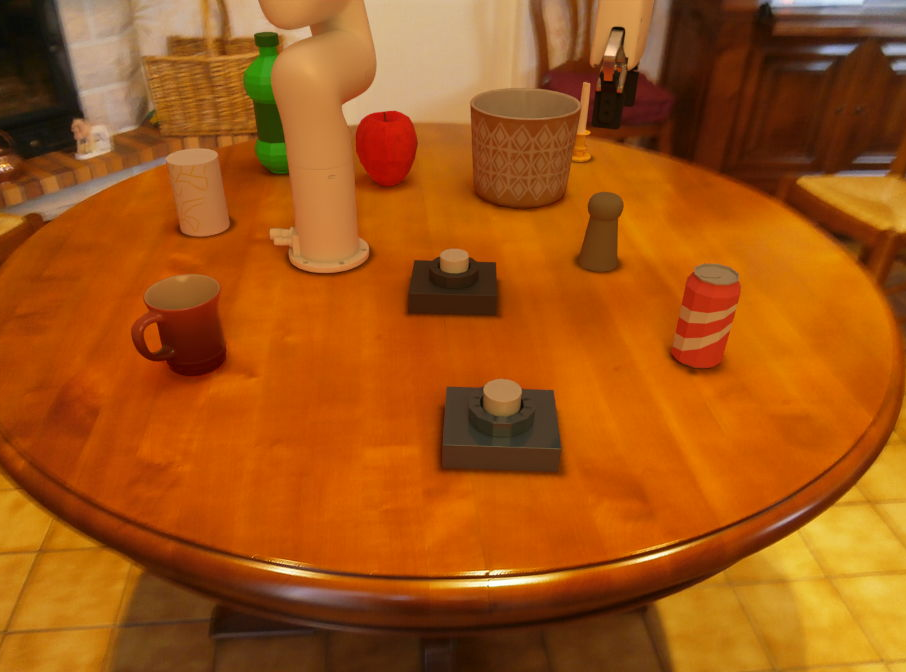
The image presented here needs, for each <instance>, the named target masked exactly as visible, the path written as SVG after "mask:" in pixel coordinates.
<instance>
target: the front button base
mask: <svg viewBox="0 0 906 672" xmlns="http://www.w3.org/2000/svg"><path fill="white" fill-rule="evenodd" d="M484 386H485V385H482V386H478V387H476V386H472V387H471V386H446V389H445V404H444V417H443V418H444V419H443V432H442V453H441V454H442V455H441V456H442V460H441V462H442V464H441V465H442V466H441V467H442V468H443V469H465V470H466V469H467V470H493V471H495V470H496V471H517V472H519V471H520V472H545V473H547V472H549V473H559V471H560V465H561V464H560V463H561V457H562V456H561V455H562V442H561V434H560V425H559V420H558V412H557V403H556V395H555V390H554V389H533V388H522V387H521V389H522V397H521V408H520V410H519V412H518V413H516V414H514V415H511V416H495V415H492V414H490V413H487V412H486V411H485V410H484V408H483V388H484Z"/></svg>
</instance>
